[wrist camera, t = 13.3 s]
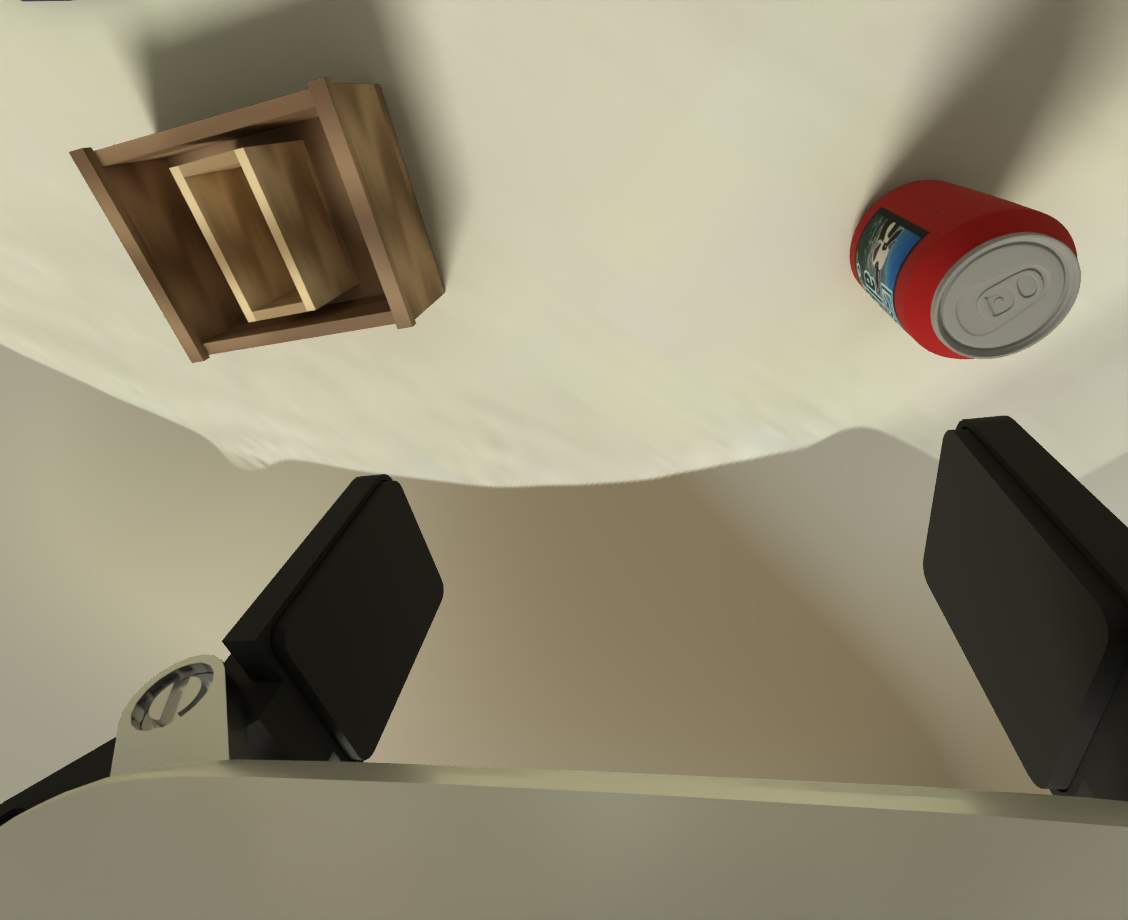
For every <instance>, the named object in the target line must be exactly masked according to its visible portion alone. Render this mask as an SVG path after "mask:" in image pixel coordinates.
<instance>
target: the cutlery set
mask: <svg viewBox="0 0 1128 920" xmlns="http://www.w3.org/2000/svg"><path fill="white" fill-rule="evenodd" d="M22 1H71V0H22Z"/></svg>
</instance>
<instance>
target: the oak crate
mask: <svg viewBox="0 0 1128 920" xmlns="http://www.w3.org/2000/svg"><path fill="white" fill-rule="evenodd" d="M169 169H170V171H171V173H172V175H173V177H174V179H175V181H176V182H177V184H178V186H179V188H180V190H181V192H182V194H183V196H184V198H185V200H186V202H187V204H188V206H189V208H190V210H191V212H192V214H193V215H194V217H195V219H196V221H197V223H198V225H199V227H200V229H201V231H202V233H203V235H204V237H205V239H206V241H207V243H208V245H209V247H210V249H211V250H212V252H213V254H214V256H215V258H216V260H217V262H218V264H219V266H220V268H221V270H222V272H223V274H224V276H225V278H226V280H227V282H228V283H229V285H230V287H231V289H232V291H233V293H234V295H235V297H236V299H237V301H238V303H239V305H240V307H241V309H242V311H243V313H244V315H245V317H246V318H247V320H248V322H254V321H260V320H265V319H270V318H276V317H281V316H286V315H292V314H297V313H302V312H308V311H313V310H316V309H318V308H320V307H321V306H323V305H325V304H326V303H328V302H329V301H331V300H333V299H334V298H336V297H338V296H339V295H341V294H342V293H344V292H346V291H347V290H349V289H351V288H352V287H354V286H356V285H357V284H359V280H358V278H357V275H356V273H355V270H354V268H353V265H352V263H351V260H350V257H349V255H348V252H347V250H346V247H345V245H344V242H343V240H342V237H341V235H340V232H339V230H338V227H337V225H336V222H335V220H334V217H333V215H332V212H331V210H330V207H329V204H328V202H327V199H326V197H325V194H324V192H323V189H322V187H321V184H320V182H319V179H318V177H317V174H316V172H315V169H314V167H313V164H312V162H311V159H310V156H309V154H308V151H307V149H306V146H305V144H304V141H303V140H299V141H291V142H283V143H276V144H268V145H260V146H252V147H244V148H240V149H236V150H233V151H229V152H226V153H222V154H218V155H215V156H211V157H208V158H204V159H200V160H197V161H193V162H190V163H186V164H183V165H179V166H175V167H172V168H169Z"/></svg>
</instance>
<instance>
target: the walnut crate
mask: <svg viewBox="0 0 1128 920" xmlns="http://www.w3.org/2000/svg"><path fill="white" fill-rule="evenodd" d="M306 83H307V86H308V88H309V89H306V90H303V91H299V92H296V93H292V94H289V95H285V96H282V97H278V98H275V99H272V100H268V101H265V102H261V103H258V104H254V105H251V106H247V107H244V108H241V109H237V110H234V111H230V112H227V113H223V114H220V115H216V116H213V117H210V118H206V119H203V120H199V121H196V122H192V123H189V124H185V125H182V126H179V127H175V128H172V129H168V130H165V131H161V132H158V133H154V134H151V135H148V136H144V137H141V138H137V139H134V140H130V141H127V142H123V143H120V144H117V145H113V146H110V147H106V148H103V149H99V150H96V151H93V150H92V148H91V147H90V148H81V149H78V150H74V151H71V152H69V153H70V155H71V157H72V158H73V160H74V162H75V164H76V165H77V167H78V169H79V170H80V172H81V174H82V176H83V177H84V179H85V181H86V182H87V184H88V186H89V188H90V189H91V191H92V193H93V194H94V196H95V198H96V200H97V201H98V203H99V205H100V206H101V208H102V210H103V212H104V213H105V215H106V217H107V218H108V220H109V222H110V224H111V225H112V227H113V229H114V230H115V232H116V234H117V235H118V237H119V239H120V241H121V242H122V244H123V246H124V247H125V249H126V251H127V253H128V254H129V256H130V258H131V259H132V261H133V263H134V265H135V266H136V268H137V270H138V271H139V273H140V275H141V277H142V278H143V280H144V282H145V283H146V285H147V287H148V289H149V290H150V292H151V294H152V295H153V297H154V299H155V301H156V302H157V304H158V306H159V307H160V309H161V311H162V312H163V314H164V316H165V318H166V319H167V321H168V323H169V324H170V326H171V328H172V330H173V331H174V333H175V335H176V336H177V338H178V340H179V342H180V343H181V345H182V347H183V348H184V350H185V352H186V354H187V355H188V357H189V359H190V360H191V362H192V363H194V362H200V361H205V360H206V359H208V358H210V357H209V355H210V354H216V353H222V352H228V351H234V350H240V349H246V348H252V347H258V346H264V345H270V344H276V343H282V342H288V341H294V340H300V339H306V338H312V337H318V336H324V335H330V334H336V333H342V332H348V331H354V330H360V329H366V328H372V327H378V326H384V325H390V324H396V325H397V328H398V329H401V328H408V327H413V326H414V325H415V324H416V322H415V319H416V318H417V317H418V316H419V315H420V314H421V313H423V312H424V311H425V310H426V309H427V308H428V307H429V306H430V305H432V304H433V303H434V302H435V301H436V300H437V299H438V298H439V297H441V296H442V295H443V294H444V293H445V291H444V287H443V284H442V281H441V278H440V275H439V272H438V268H437V265H436V262H435V259H434V256H433V253H432V249H431V246H430V243H429V240H428V237H427V234H426V230H425V227H424V224H423V221H422V218H421V215H420V211H419V208H418V205H417V202H416V199H415V196H414V192H413V189H412V186H411V183H410V180H409V176H408V173H407V170H406V167H405V164H404V161H403V157H402V154H401V151H400V148H399V145H398V142H397V138H396V135H395V132H394V129H393V126H392V123H391V119H390V116H389V113H388V110H387V107H386V104H385V100H384V97H383V94H382V91H381V88H380V85H379V84H354V83H331V81H330V78H328V77H323V78H319V79H316V80H313V81H309V82H306ZM299 140H303V141H304V144H305V146H306V149H307V151H308V154H309V156H310V159H311V162H312V164H313V167H314V169H315V172H316V174H317V177H318V179H319V182H320V184H321V187H322V189H323V192H324V194H325V197H326V199H327V202H328V204H329V207H330V210H331V212H332V215H333V217H334V220H335V222H336V225H337V227H338V230H339V232H340V235H341V237H342V240H343V242H344V245H345V247H346V250H347V252H348V255H349V257H350V260H351V263H352V265H353V268H354V270H355V273H356V275H357V278H358V280H359V284H357V285H356V286H354V287H352V288H351V289H349V290H347V291H346V292H344V293H342V294H341V295H339V296H338V297H336V298H334V299H333V300H331V301H329V302H328V303H326V304H325V305H323V306H321V307H320V308H318V309H316V310H313V311H308V312H302V313H297V314H292V315H286V316H281V317H276V318H270V319H265V320H260V321H254V322H248V320H247V318H246V317H245V315H244V313H243V311H242V309H241V307H240V305H239V303H238V301H237V299H236V297H235V295H234V293H233V291H232V289H231V287H230V285H229V283H228V282H227V280H226V278H225V276H224V274H223V272H222V270H221V268H220V266H219V264H218V262H217V260H216V258H215V256H214V254H213V252H212V250H211V249H210V247H209V245H208V243H207V241H206V239H205V237H204V235H203V233H202V231H201V229H200V227H199V225H198V223H197V221H196V219H195V217H194V215H193V214H192V212H191V210H190V208H189V206H188V204H187V202H186V200H185V198H184V196H183V194H182V192H181V190H180V188H179V186H178V184H177V182H176V181H175V179H174V177H173V175H172V173H171V171H170V169H169V168H172V167H175V166H179V165H183V164H186V163H190V162H193V161H197V160H200V159H204V158H208V157H211V156H215V155H218V154H222V153H226V152H229V151H233V150H236V149H240V148H244V147H252V146H260V145H268V144H276V143H283V142H291V141H299Z"/></svg>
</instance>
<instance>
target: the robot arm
mask: <svg viewBox="0 0 1128 920" xmlns="http://www.w3.org/2000/svg"><path fill="white" fill-rule="evenodd" d="M923 570H924V575H925V579H926V581H927V584H928V586H929V588H930V590H931V591H932V593H933V595H934V597H935V599H936V601H937V603H938V605H939V607H940V609H941V610H942V612H943V614H944V616H945V618H946V620H947V622H948V624H949V626H950V628H951V629H952V631H953V633H954V635H955V637H956V639H957V641H958V643H959V645H960V646H961V648H962V650H963V652H964V654H965V656H966V658H967V660H968V662H969V664H970V665H971V667H972V669H973V671H974V673H975V675H976V677H977V679H978V680H979V682H980V684H981V686H982V688H983V690H984V692H985V694H986V696H987V698H988V700H989V701H990V703H991V705H992V707H993V709H994V711H995V713H996V715H997V717H998V718H999V720H1000V722H1001V724H1002V726H1003V728H1004V730H1005V732H1006V734H1007V735H1008V737H1009V739H1010V741H1011V743H1012V745H1013V747H1014V749H1015V751H1016V752H1017V754H1018V756H1019V758H1020V760H1021V762H1022V764H1023V766H1024V768H1025V769H1026V772H1027V773H1028V775H1029V776H1030V778H1031V780H1032V781H1033V782H1034V783H1035V784H1036V786H1038V787H1040V788H1042V789H1050V791H1051V793H1052V794H1053V795H1042V794H1027V793H1011V792H996V791H979V790H964V789H948V788H932V787H915V786H894V785H893V786H892V785H874V784H853V783H832V782H811V781H810V782H809V781H790V780H770V779H769V780H768V779H749V778H727V777H707V776H685V775H661V774H639V773H616V772H592V771H569V770H568V771H567V770H546V769H522V768H521V769H520V768H497V767H471V766H446V765H417V764H390V763H365V762H363V761H364V760H366V759H368V758H370V756H371V755H372V754H373V752H374V750H375V749H376V746H377V744H378V742H379V740H380V737H381V735H382V733H383V731H384V729H385V726H386V724H387V722H388V719H389V717H390V715H391V713H392V710H393V708H394V706H395V704H396V701H397V699H398V697H399V695H400V693H401V690H402V688H403V686H404V684H405V682H406V679H407V677H408V675H409V673H410V670H411V668H412V666H413V664H414V661H415V659H416V657H417V655H418V652H419V650H420V648H421V646H422V643H423V641H424V639H425V637H426V635H427V632H428V630H429V628H430V625H431V623H432V621H433V619H434V617H435V614H436V612H437V610H438V607H439V605H440V603H441V601H442V598H443V582H442V579H441V577H440V575H439V573H438V570H437V568H436V566H435V563H434V561H433V558H432V556H431V554H430V551H429V549H428V547H427V544H426V542H425V540H424V538H423V535H422V533H421V531H420V528H419V526H418V524H417V522H416V519H415V517H414V514H413V512H412V510H411V507H410V505H409V503H408V500H407V498H406V496H405V494H404V491H403V489H402V487H401V485H400V484H399V483H398V482H397V481H393V480H392V479H391V477H389V476H388V475H386V474H381V475H370V476H360V477H356V478H355V479H354V480H353V481H352V482H351V483H350V484H349V486H348V487H347V488H346V489H345V491H344V492H343V493H342V494H341V496H340V497H339V498H338V499H337V501H336V502H335V503H334V504H333V505H332V507H331V508H330V509H329V510H328V511H327V513H326V514H325V516H323V518H322V519H321V520H320V521H319V523H318V524H317V525H316V526H315V527H314V529H313V530H312V531H311V532H310V534H309V535H308V536H307V537H306V539H305V540H304V541H303V542H302V544H301V545H300V546H299V547H298V548H297V550H296V551H295V552H294V553H293V554H292V556H291V557H290V558H289V560H288V561H287V562H286V563H285V564H284V566H283V567H282V568H281V569H280V570H279V572H278V573H277V574H276V575H275V577H274V578H273V579H272V580H271V581H270V583H269V584H268V585H267V586H266V588H265V589H264V590H263V591H262V593H261V594H260V595H259V596H258V597H257V599H256V600H255V601H254V602H253V604H252V605H251V606H250V607H249V608H248V610H247V611H246V612H245V613H244V615H243V616H242V617H241V618H240V620H239V621H238V622H237V624H235V626H234V627H233V628H232V629H231V631H230V632H229V633H228V634H227V636H226V637H225V638H224V639H223V640H222V642H223V643H224V645H225V646H226V647H227V649H228V650H229V651H230V653H231V655H230V656H229V657H228V658H227V660H226V661H225V662H223V661H222V660H221V659H219V658H218V657H216V656H214V655H199V656H195V657H190V658H187V659H185V660H183V661H180V662H178V663H175V664H174V665H172V666H170V667H169V668H167V669H165V670H163V671H162V672H160V673H159V674H157V675H156V676H155V677H154V678H152V679H151V680H150V681H149V682H147V683H146V684H145V685H144V686H143V687H142V688H141V689H140V690H139V691H138V692H137V693H136V694H135V695H134V696H133V697H132V699H131V700H130V701H129V703H128V704H127V706H126V707H125V709H124V711H123V713H122V715H121V718H120V721H119V725H118V730H117V736H116V737H115V738H114V739H112V740H110V741H108V742H107V743H105V744H103V745H101V746H100V747H98V748H96V749H95V750H93V751H91V752H90V753H88V754H86V755H84V756H82V757H81V758H79V759H77V760H76V761H74V762H72V763H70V764H69V765H67V766H65V767H64V768H62V769H60V770H58V771H57V772H55V773H53V774H51V775H50V776H48V777H46V778H45V779H43V780H41V781H39V782H38V783H36V784H34V785H33V786H31V787H29V788H27V789H25V790H24V791H22V792H20V793H19V794H17V795H15V796H14V797H12V798H10V799H8V800H6V801H5V802H3V803H2V804H0V920H1128V527H1126V525H1124V524H1123V523H1122V522H1121V521H1120V520H1119V519H1118V518H1117V517H1116V516H1115V515H1114V514H1113V513H1112V512H1110V510H1109V509H1107V508H1106V507H1105V506H1104V505H1103V504H1102V503H1101V502H1100V501H1099V500H1098V499H1097V498H1096V497H1095V496H1094V495H1093V494H1092V493H1091V492H1090V491H1089V490H1087V489H1086V488H1085V487H1084V486H1083V485H1082V484H1081V483H1080V482H1079V481H1078V480H1077V479H1076V478H1075V477H1074V476H1073V475H1072V474H1071V473H1069V472H1068V471H1067V470H1066V469H1065V468H1064V467H1063V466H1062V465H1061V464H1060V463H1059V462H1058V461H1057V460H1056V459H1055V458H1054V457H1053V456H1052V455H1050V454H1049V453H1048V452H1047V451H1046V450H1045V449H1044V448H1043V447H1042V446H1041V445H1040V444H1039V443H1038V442H1037V441H1036V440H1035V439H1034V438H1032V437H1031V436H1030V435H1029V434H1028V433H1027V432H1026V431H1025V430H1024V429H1023V428H1022V427H1021V426H1020V425H1019V424H1018V423H1017V422H1016V421H1015V420H1013V419H1012V418H1011V417H1009V416H995V417H984V418H974V419H963V420H962V421H960V422H959V423H958V425H957V427H956V430H948V431H947V432H946V433H945V435H944V437H943V442H942V448H941V454H940V460H939V467H938V473H937V479H936V485H935V492H934V497H933V503H932V509H931V516H930V522H929V528H928V534H927V541H926V546H925V553H924V559H923Z"/></svg>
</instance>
